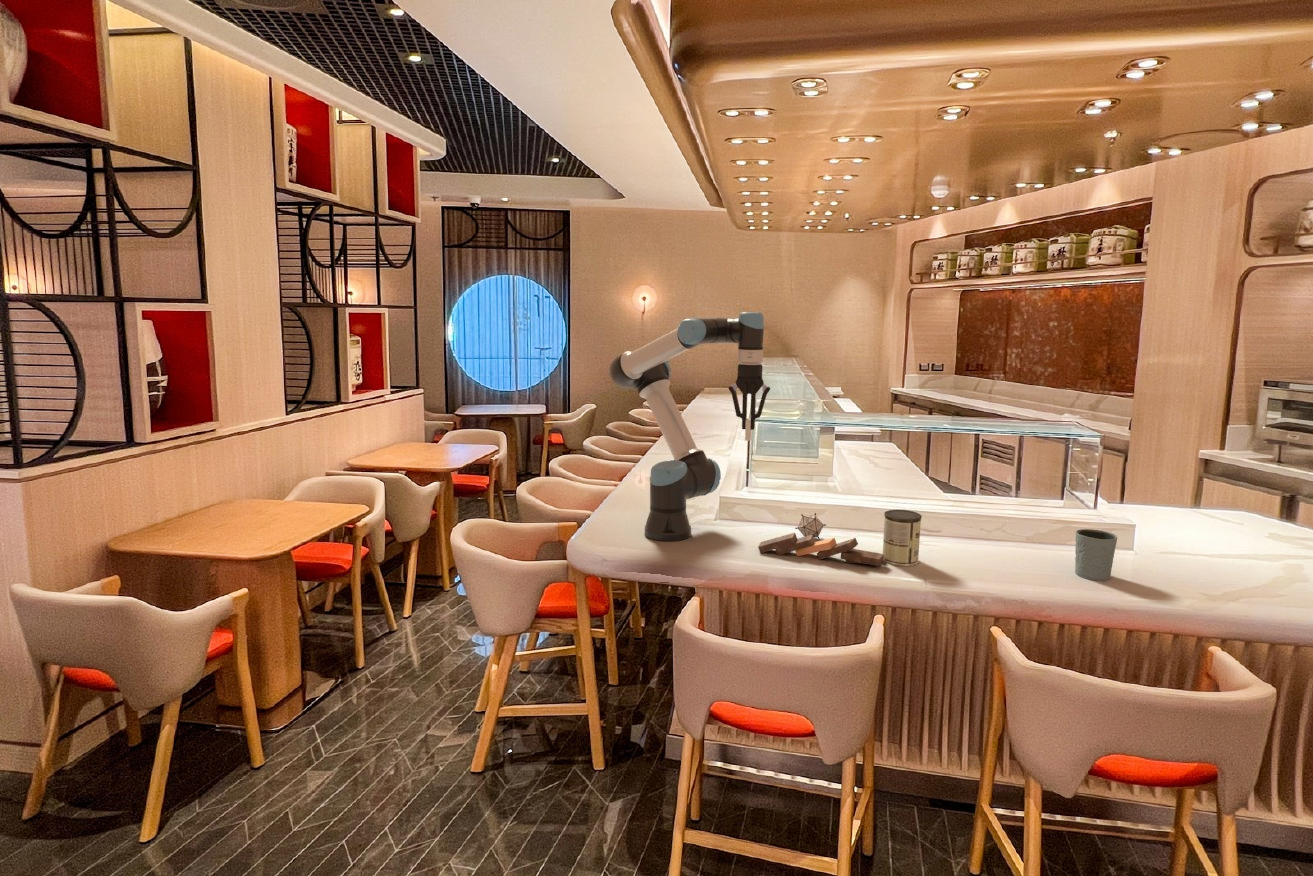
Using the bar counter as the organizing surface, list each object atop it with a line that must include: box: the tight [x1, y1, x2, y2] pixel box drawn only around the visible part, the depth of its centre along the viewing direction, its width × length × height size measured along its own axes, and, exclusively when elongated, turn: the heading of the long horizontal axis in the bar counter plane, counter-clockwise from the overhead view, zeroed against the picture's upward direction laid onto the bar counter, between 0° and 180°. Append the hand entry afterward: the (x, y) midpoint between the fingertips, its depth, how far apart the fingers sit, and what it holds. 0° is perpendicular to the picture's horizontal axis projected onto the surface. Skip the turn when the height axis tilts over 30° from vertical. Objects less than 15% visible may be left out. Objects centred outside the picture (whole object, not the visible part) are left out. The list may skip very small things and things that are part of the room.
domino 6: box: [844, 559, 886, 565], centre depth 223 cm, size 2×5×11 cm
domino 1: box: [757, 532, 798, 554], centre depth 229 cm, size 2×5×11 cm
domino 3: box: [794, 537, 838, 557], centre depth 225 cm, size 2×5×11 cm
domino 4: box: [816, 537, 859, 561], centre depth 222 cm, size 2×5×11 cm
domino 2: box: [774, 535, 816, 556], centre depth 228 cm, size 2×5×11 cm
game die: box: [794, 512, 827, 540], centre depth 243 cm, size 9×8×10 cm
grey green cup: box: [1074, 528, 1118, 582], centre depth 212 cm, size 10×10×12 cm
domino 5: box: [840, 548, 884, 567], centre depth 220 cm, size 2×5×11 cm
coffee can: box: [882, 509, 923, 567], centre depth 222 cm, size 10×10×14 cm
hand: (747, 439), depth 235 cm, fingers closed
